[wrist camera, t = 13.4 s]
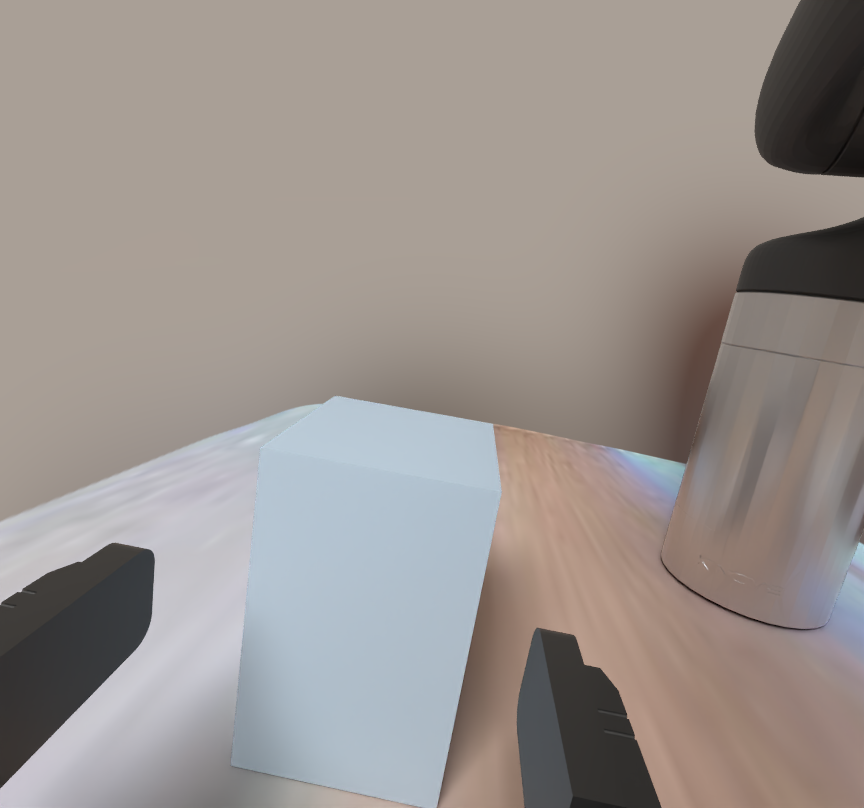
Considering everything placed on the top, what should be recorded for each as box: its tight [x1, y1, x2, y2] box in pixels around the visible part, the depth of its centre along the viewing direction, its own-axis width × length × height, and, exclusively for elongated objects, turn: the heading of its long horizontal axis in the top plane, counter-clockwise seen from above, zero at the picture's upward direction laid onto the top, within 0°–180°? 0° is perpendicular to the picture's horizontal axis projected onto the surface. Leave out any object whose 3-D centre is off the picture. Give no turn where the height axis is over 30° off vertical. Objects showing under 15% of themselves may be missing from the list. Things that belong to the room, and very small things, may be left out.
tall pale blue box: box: [231, 396, 502, 808], centre depth 17 cm, size 7×6×10 cm
